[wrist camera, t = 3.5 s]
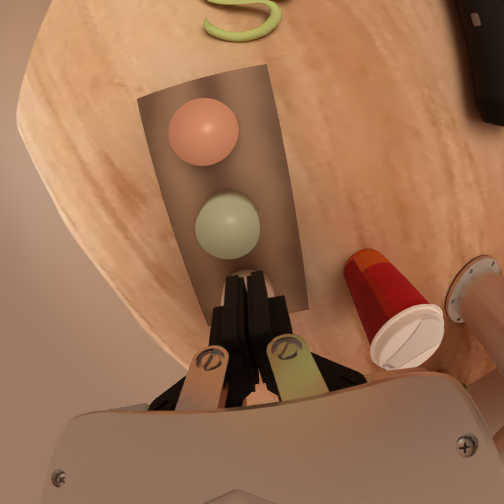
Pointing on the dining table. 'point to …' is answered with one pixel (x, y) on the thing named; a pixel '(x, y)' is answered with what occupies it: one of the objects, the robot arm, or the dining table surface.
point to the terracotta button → (203, 131)
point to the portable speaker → (486, 54)
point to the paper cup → (392, 312)
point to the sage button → (228, 225)
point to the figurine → (250, 34)
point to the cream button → (244, 274)
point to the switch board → (230, 184)
